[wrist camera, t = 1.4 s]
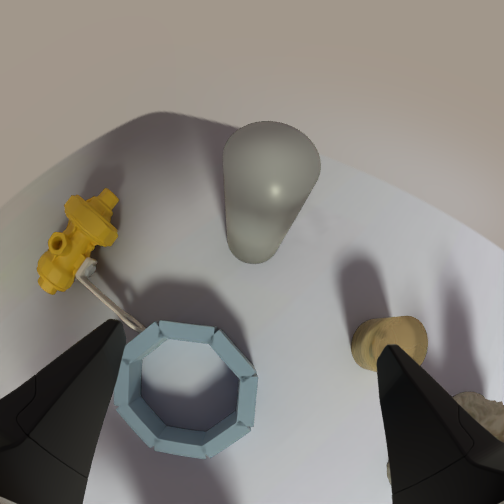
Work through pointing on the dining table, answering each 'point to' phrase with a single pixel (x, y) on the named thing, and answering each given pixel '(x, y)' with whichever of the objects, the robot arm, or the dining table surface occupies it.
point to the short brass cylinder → (388, 339)
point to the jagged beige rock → (480, 414)
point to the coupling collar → (178, 438)
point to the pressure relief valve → (81, 248)
